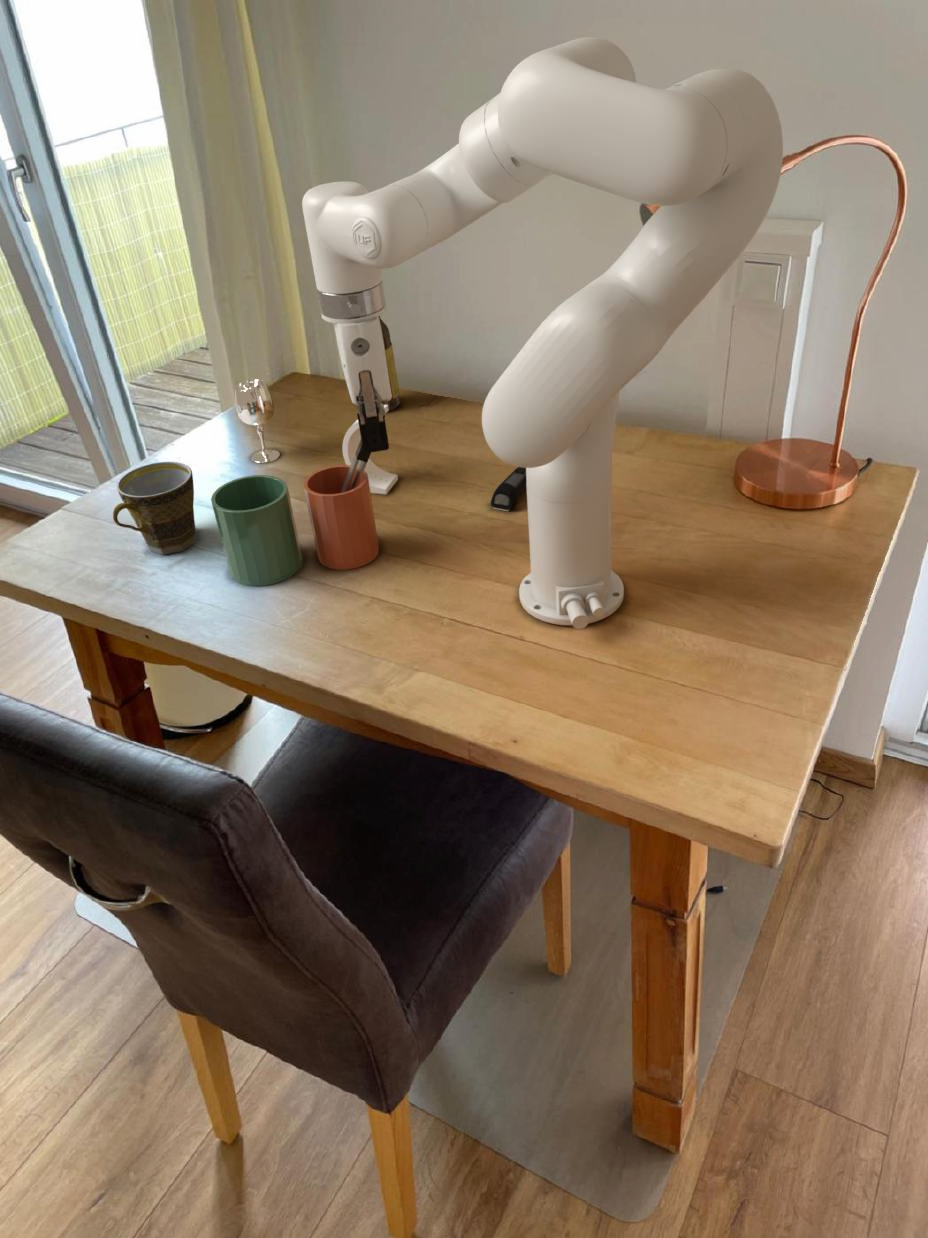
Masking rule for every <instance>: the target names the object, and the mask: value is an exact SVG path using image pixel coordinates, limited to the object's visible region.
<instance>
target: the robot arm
mask: <svg viewBox="0 0 928 1238" xmlns="http://www.w3.org/2000/svg"><path fill="white" fill-rule="evenodd" d="M783 158H784V139H783V131H782V125H781V120H780V117H779V114H778V110H777V107H776V105H775V103H774V100H773V98H772V96H771V94H770V93H769V91H768V90H767V88H766V87H765V85H764V84H763V83H762V82H761V81H759V79H758V78H756V77H755V76H754V75H752V74H750V73H749V72H746V71H743V70H740V69H737V68H729V67H727V68H726V67H725V68H714V69H708V70H705V71H702V72H699V73H696V74H695V75H692V76H690V77H688V78H686V79H683V80H681V81H678V82H677V83H675V84H673V85H671V86H669V87H667V88H665V89H662V88H657V87H653V86H651V85H650V86H649V85H645V84H642V83H638V82H637V77H636V72H635V70H634V66H633V64H632V62H631V60H630V59H629V56H627V54H626V53H625V51H623V50H622V49H621V48H620V47H619V46H618V45H616V44H615V43H614V42H613V41H610V40H608V39H605V38H602V37H597V36H596V37H595V36H587V37H580V38H575V39H572V40H569V41H566V42H563V43H561V44H557V45H554V46H552V47H548V48H546V49H543V50H539V51H538V52H534V53H532V54H531V55H529V56H527V57H525V58H524V59H522V60H521V61H520V62H519V63H518V64H517V65H516V66H515V67H514V68H513V69H512V71H511V72H509V74H508V75H507V77H506V80H505V81H504V83H503V85H502V86H501V89H500V92H499V93H498V94H496V95H495V96H494V97H493V98H491V99H489V100H488V101H487V102H485V103H484V104H482V105H481V106H480V107H478V108H477V109H475V110H474V111H473V112H471V113H470V114H469V115H468V116H466V118H464V121H463V122H462V123H461V126H460V129H459V134H458V143H457V144H455V146H453V147H452V148H451V149H449V150H448V151H447V152H445V153H444V154H442V155H441V156H440V157H438V158H437V159H435V160H434V161H433V162H431V163H429V164H428V165H427V166H425V167H424V168H422V169H420V170H419V171H417V172H414V173H413V174H411V175H408V176H405V177H404V178H401V179H399V180H397V181H394V182H391V183H390V184H387V185H385V186H384V187H381V188H377V189H375V190H373V191H371V192H369V191H368V188H367V187H366V186H364V185H363V184H361V183H360V182H355V181H346V180H345V181H334V182H332V181H331V182H327V183H322V184H319V185H316V186H313V187H311V188H310V189H308V190H307V191H306V192H305V193H304V195H303V197H302V201H301V207H302V215H303V220H304V225H305V230H306V236H307V241H308V247H309V252H310V258H311V265H312V269H313V275H314V281H315V286H316V291H317V298H318V303H319V308H320V309H319V310H320V315H321V319H322V320H323V321H325V322H328V323H331V324H333V328H334V333H335V338H336V343H337V350H338V354H339V359H340V364H341V368H342V371H343V376H344V380H345V384H346V387H347V391H348V393H349V397H350V401H351V403H352V404H353V405H354V406H357V409H358V412H357V413H356V416H357V420H358V423H359V428H360V434H361V439H362V445H363V451H364V452H365V453H371V454H372V453H377V452H383V451H388V450H389V448H390V445H389V444H390V443H389V437H388V431H387V424H386V417H385V418H383V416H382V409H381V403H380V401H381V400H380V397H381V398H382V400H386V399H387V401H389V400H390V399H391V398H392V393H391V387H390V381H389V375H388V368H387V361H386V354H385V348H384V341H383V335H382V330H381V325H380V321H379V316H380V317H381V316H382V315H383V314H384V313H385V312H386V311H387V304H386V296H385V289H384V283H383V276H382V270H385V269H391V268H395V267H397V266H399V265H401V264H403V263H406V262H408V261H409V260H410V259H412V258H415V257H416V256H418V255H419V254H421V253H422V252H425V251H426V250H429V249H430V248H433V247H435V246H436V245H438V244H441V243H442V242H444V241H446V240H448V239H449V238H451V237H453V236H454V235H456V234H457V233H459V232H460V231H462V230H463V229H465V228H467V227H468V226H470V225H471V224H472V223H474V222H475V221H477V220H479V219H481V218H482V217H484V216H485V215H487V214H488V213H490V212H492V211H493V210H495V209H496V208H498V207H499V206H501V205H502V204H508V203H510V202H512V201H513V200H515V199H516V198H517V197H519V196H521V195H522V194H524V193H525V192H527V191H528V190H530V189H531V188H533V187H535V186H536V185H538V184H539V183H541V182H542V181H544V180H545V179H548V177H550V176H552V175H556V176H559V177H561V178H564V179H567V180H570V181H573V182H576V183H579V184H582V185H585V186H588V187H591V188H593V189H597V190H600V191H603V192H606V193H609V194H613V195H616V196H618V197H621V198H623V199H628V200H630V201H634V202H638V203H641V204H643V205H644V204H645V205H650V206H655V207H659V208H658V209H657V210H656V211H655V212H654V213H653V214H652V215H651V216H650V218H649V219H648V220H647V221H646V222H645V223H644V225H643V226H642V227H641V229H640V230H639V232H638V233H637V235H636V236H635V238H634V239H633V240H632V241H631V243H630V244H629V245H628V246H627V247H626V249H624V251H623V252H622V253H621V255H620V256H619V257H618V258H617V259H616V260H615V261H614V263H613V264H612V265H611V266H610V267H609V268H608V269H607V270H606V271H604V273H603V274H601V275H600V276H598V277H597V278H594V280H592V281H591V282H590V283H588V284H587V285H585V286H584V287H583V288H581V289H580V290H578V291H577V292H575V293H574V294H573V295H571V296H570V297H568V298H567V299H566V300H564V301H563V302H562V303H560V304H559V305H558V306H557V307H556V308H555V309H554V310H553V311H551V313H550V314H548V315H547V317H546V318H545V319H544V320H543V321H542V322H541V324H539V326H538V327H537V328H536V329H535V331H534V332H533V334H532V335H531V336H530V337H529V339H528V340H527V341H526V342H525V344H524V345H523V346H522V348H521V349H520V350H519V352H518V353H517V354H516V356H515V357H514V358H513V360H512V361H510V363H509V365H508V366H507V367H506V369H505V370H504V371H503V372H502V374H501V375H500V376H499V378H498V379H497V380H496V382H495V383H494V384H493V386H492V387H491V388H490V390H489V391H488V394H487V395H486V397H485V400H484V402H483V405H482V410H481V428H482V432H483V436H484V439H485V442H486V443H487V445H488V447H489V449H490V450H491V451H492V453H493V454H494V455H495V456H496V457H497V458H498V459H500V460H501V461H502V462H504V463H506V464H508V465H510V466H513V467H516V468H518V467H522V468H526V480H527V484H526V486H527V487H526V502H527V503H526V504H527V520H528V521H527V523H528V541H529V542H528V543H529V563H530V572H529V573H528V574H526V576H525V577H524V578H523V579H522V580H521V582H520V585H519V588H518V592H519V593H518V596H519V602H520V604H521V606H522V608H523V609H524V611H526V613H528V614H529V615H530V616H532V617H534V618H535V619H537V620H540V621H542V622H544V623H548V624H552V625H557V626H571V627H573V628H574V629H577V630H582V629H584V628H586V627H587V626H588V624H592V623H595V622H598V621H601V620H603V619H605V618H607V617H610V616H611V615H612V614H614V613H615V612H616V611H617V610H618V609H619V608H620V607H621V605H622V603H623V601H624V597H625V587H624V586H625V585H624V583H623V580H622V579H621V577H620V575H618V574H617V573H616V572H615V571H614V570H612V484H613V483H612V482H613V481H612V480H613V479H612V477H613V448H614V437H615V436H614V435H615V428H616V423H617V417H618V411H619V410H618V409H619V402H620V391H622V389H624V387H625V386H627V384H628V383H630V382H631V381H632V380H633V379H634V378H635V377H636V376H637V375H638V374H639V373H640V372H641V371H643V370H644V369H645V368H646V367H647V366H648V365H649V364H650V363H651V362H652V361H653V360H654V359H655V358H656V357H657V355H659V354H660V352H661V350H662V349H663V348H664V346H665V345H666V343H667V342H668V341H669V339H670V338H671V336H672V335H674V333H675V331H677V329H678V328H679V327H680V326H681V324H682V323H683V322H684V321H685V320H686V319H687V318H688V316H690V314H692V313H693V312H694V310H695V309H696V308H697V307H698V306H699V304H700V303H701V302H702V301H703V300H704V299H705V298H706V297H707V295H708V294H709V293H710V291H711V290H712V289H713V288H714V287H715V286H716V285H717V283H719V281H721V279H722V278H723V277H724V275H725V274H726V273H727V272H728V271H729V270H730V269H731V267H732V266H733V265H734V264H735V263H736V262H737V260H738V259H739V258H740V257H741V255H742V254H743V252H744V251H745V250H746V249H747V247H748V246H749V245H750V243H751V242H752V240H753V239H754V238H755V236H756V234H757V233H758V231H759V230H760V227H761V226H762V224H763V222H764V221H765V219H766V217H767V215H768V213H769V211H770V209H771V206H772V204H773V201H774V199H775V196H776V193H777V190H778V186H779V183H780V180H781V173H782V168H783V161H784V159H783ZM373 394H374V395H373ZM379 395H380V396H379ZM375 404H376V406H375Z"/></svg>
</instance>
